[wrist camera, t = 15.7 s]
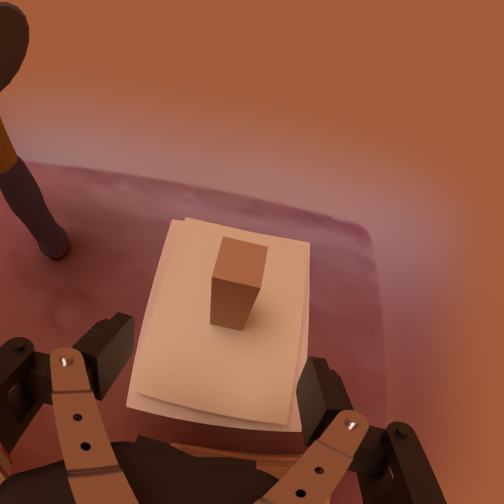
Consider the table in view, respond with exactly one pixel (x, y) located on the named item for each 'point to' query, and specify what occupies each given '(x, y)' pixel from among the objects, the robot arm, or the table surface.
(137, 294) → the table surface
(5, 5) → the rubber mallet
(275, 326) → the lid
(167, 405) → the mat
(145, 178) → the table surface
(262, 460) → the wooden box
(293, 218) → the table surface
